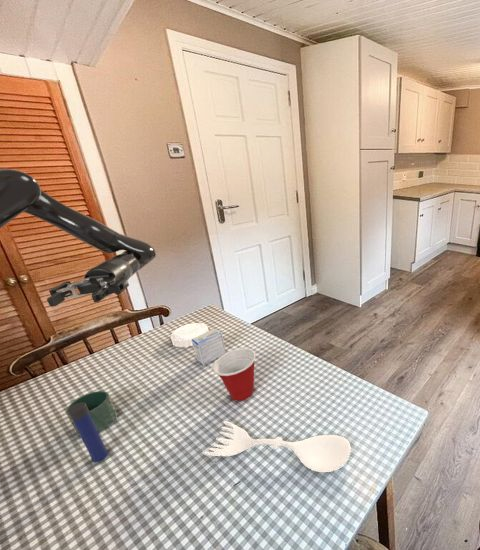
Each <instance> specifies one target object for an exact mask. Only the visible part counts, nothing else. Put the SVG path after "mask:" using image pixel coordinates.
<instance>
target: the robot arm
mask: <svg viewBox="0 0 480 550" xmlns="http://www.w3.org/2000/svg"><path fill="white" fill-rule="evenodd" d="M22 213H26V214H28V215H30V216H33V217H36V218H37V219H40V220H41V221H43V222H46V223H48V224H50V225H52V226H54V227H56V228H58V229H59V230H61V231H63V232H65V233H66V234H68V235H70V236H71V237H74V238H75V239H77V240H79V241H81V242H83V243H85V244H86V245H88V246H89V247H93V248H94V249H96V250H99V251H101V252H103V253H104V254H110V255H112V254H115V253H116V252H119V251H123V252H122V253H119V254H117V255H114V256H113V257H111V258H109V259H106V260H103V261H102V262H101V263H99V264H97V265H95V266H94V267H92V268H90V269H88V270H87V272H86V273H85V275H84V278H83V279H80V281H76V282H71V281H70V280H67V281H63V282H62V283H60V284H59V285H57V286H54V287H53V288H51V289H49V290H48V292H49V295H50V296H49V297H48V298H46V301H47V303H48V306H49V307H52V308H53V307H57V306H58V305H60V304H61V303H63V302H65V300H68V299H72V298H74V299H77V298H81V297H84V296H86V295H91V298H92V301H93V303H100V302H101V301H103V300H105V298H107V297H111V296H112V295H113V294H115V295H120V294H122V293H123V292H124V291H125V290H126V289H127V288H128V287H129V286H130V284H129V279H130V278H132V277H133V276H134V275H135V274H137V272H139V271H140V270H142V269H143V268H144V267H145V266H147V265H149V264H150V263H151V262H152V261H153V260H154V259H156V258H157V257H156V256H157V251H156V249H155V248H154V247H153V246H152V245H151V244H150V243H148V242H146V241H143V240H141V239H139V238H134V237H131V236H128V235H125V234H122V233H120V232H118V231H116V230H114V229H113V228H111V227H109V226H106V225H105V224H104V223H102V222H100V221H98V220H96V219H94V218H93V217H91V216H88V215H86V214H84V213H81V212H80V211H78V210H75V209H74V208H71V207H70V206H67V205H66V204H64V203H62V202H60V201H59V200H57V199H55V198H54V197H52V196H51V195H49V194H47V192H45V191H43V190H42V189H41V185H40V184H39V182H38V181H37V180H36V179H35V178H34V177H33V176H32V175H30V174H28V173H26V172H24V171H21V170H17V169H12V168H0V230H1V229H2V228H3V227H5V226H6V225H7V224H9V223H10V222H12V220H14V219H15V218H17V217H18V216H20V215H21V214H22ZM76 289H77V290H78V292H79V293H77V291H76Z"/></svg>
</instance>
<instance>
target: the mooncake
mask: <svg viewBox="0 0 480 550" xmlns="http://www.w3.org/2000/svg"><path fill="white" fill-rule="evenodd" d="M208 331H210V330H209V327H208V325H207V324H205V323H201V322H192V323H187V324H185V325H184V324H183V325H181V326H180V327H177V328H176V329H175V330H173V331H172V332H171V334H170V336H169V337H170V340H171V343H172V346H175V348H180V349H182V348H189V347H193V344H192V339H193V338H195V337H197V336H199V335H202V334H204V333H206V332H208Z"/></svg>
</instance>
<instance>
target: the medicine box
mask: <svg viewBox="0 0 480 550" xmlns="http://www.w3.org/2000/svg"><path fill="white" fill-rule="evenodd" d="M192 344H193V346H192V347H193V350H194V354H195V359H196V361H197V362H199V363H200V364H201V365H202V366H205V365H207V364H209V363H211V362H213V361H216V360H217V359H218V358H219V357H220V356H222V355H224V354H225V353H227V351H226V347H225V341H224V337H223V333H222V331H219V330H218V329H216V328H213V329H210V330H209V331H208V332H206V333H204V334H202V335H199V336H197V337H195V338H193V339H192Z"/></svg>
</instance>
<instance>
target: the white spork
mask: <svg viewBox="0 0 480 550" xmlns="http://www.w3.org/2000/svg"><path fill="white" fill-rule="evenodd" d="M222 423H223V424H224V425H226V426H221V429H222V430H223V431H219V434H220V435H222V436H224V437H226V438H223V437H215V440H216V441H217V442H219V443H220V444H217V443H210V445H211V446H212V447H206V448H207V450H208V451H202V453H201V454H203V455H204V456H207V457H233V456H236V455H240V454H241V453H244V452H245V451H246V450H249V449H251V448H253V447H256V446H263V445H264V446H270V447H272V449H273V450H278V449H279V448H281V447H286V448H288V449H291V450H292V451H293V453H294V454H295V456H296V457H297V458H298V460H300V462H301V463H302V464H303V465H304V466H305V467H306V468H308V469H309V470H311V471H314V472H318V473H331V472H335V471H338V470H339V469H341V468H343V467H344V466H345V465H346V464H347V463H348V461H349V459H350V456H351V453H352V447H351V443H350V441H349V440H348V439H347V438H345V437H343V436H341V435H337V434H320V435H314V436H311V437H309V438H305V439H302V440H299V441H287V440H283V437H282V436H277V437H275V438H252V437H250V435H249V433H248V432H247V430H245V429H244V428H242V427H240V426H238V425H236V424H235V423H232V422H230V421H228V420H223V422H222ZM225 431H226V432H225Z"/></svg>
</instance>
